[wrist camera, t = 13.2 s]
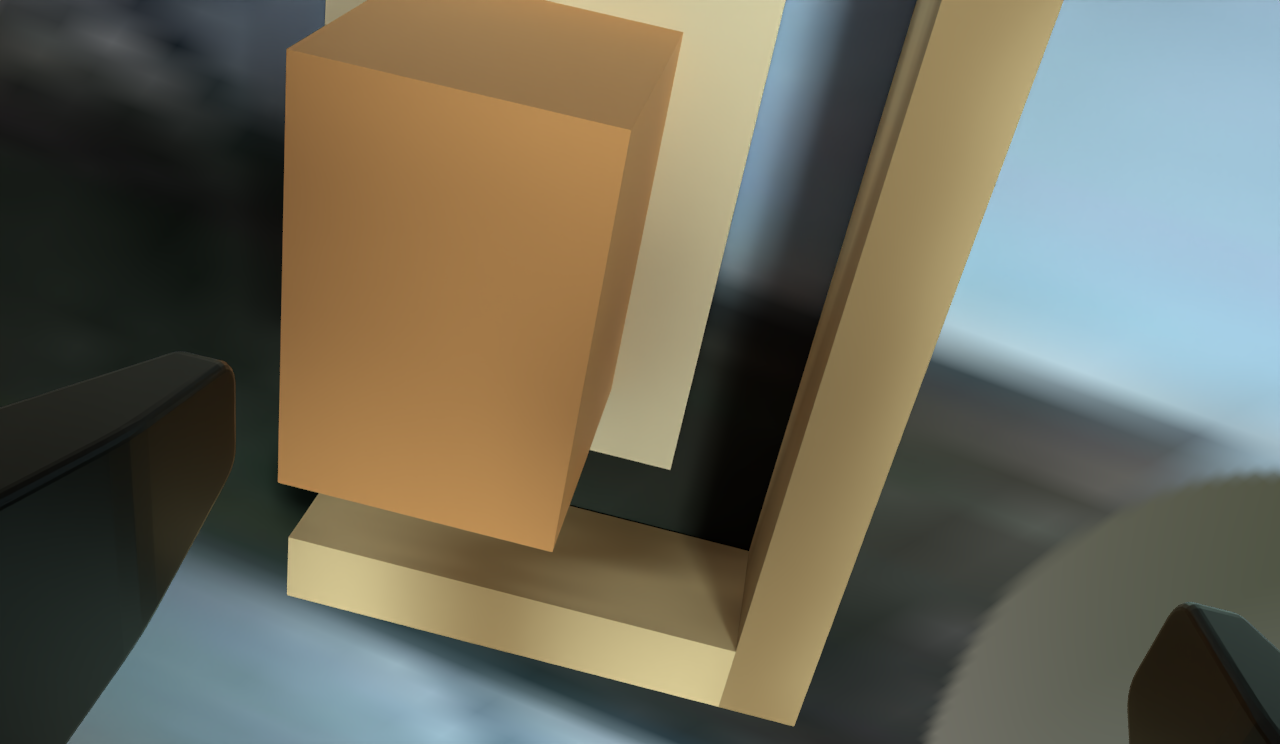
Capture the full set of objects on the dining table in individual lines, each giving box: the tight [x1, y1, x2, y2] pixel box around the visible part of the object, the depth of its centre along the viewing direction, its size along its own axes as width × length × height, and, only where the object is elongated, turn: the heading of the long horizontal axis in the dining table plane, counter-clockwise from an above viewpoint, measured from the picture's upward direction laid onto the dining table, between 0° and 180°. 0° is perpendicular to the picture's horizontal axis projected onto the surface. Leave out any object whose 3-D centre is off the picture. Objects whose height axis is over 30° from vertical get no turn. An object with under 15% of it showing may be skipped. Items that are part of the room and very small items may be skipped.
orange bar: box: [278, 0, 683, 552], centre depth 18 cm, size 7×4×5 cm, turn 169°
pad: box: [325, 0, 786, 470], centre depth 21 cm, size 8×10×1 cm
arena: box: [287, 0, 1063, 726], centre depth 20 cm, size 10×16×3 cm, turn 169°
